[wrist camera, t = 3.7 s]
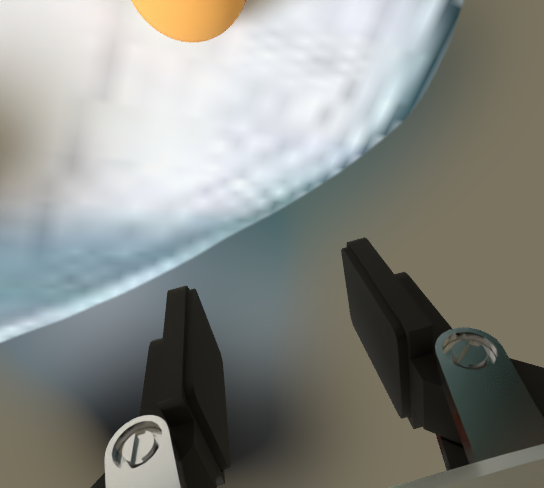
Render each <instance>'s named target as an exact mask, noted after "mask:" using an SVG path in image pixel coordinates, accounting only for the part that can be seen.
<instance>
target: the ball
mask: <svg viewBox="0 0 544 488" xmlns="http://www.w3.org/2000/svg"><path fill="white" fill-rule="evenodd" d="M131 1H132V3H133V5H134V6H135V8H136V9H137V11H138V12H139V13H140V15H141V16H142V17H143V18H144V19H145V20H146V21H147V22H148V23H149V24H150V25H151V26H152V27H153V28H155V29H156V30H157V31H159V32H160V33H162V34H164V35H166V36H167V37H170V38H172V39H175V40H179V41H183V42H202V41H206V40H209V39H212V38H214V37H216V36H218V35H220V34H222V33H223V32H224V31H226V30H227V29H228V28H229V27H230V26H231V25H232V24H233V23H234V21H235V20H236V19H237V17H238V16H239V14H240V13H241V11H242V8H243V6H244V4H245V1H246V0H131Z"/></svg>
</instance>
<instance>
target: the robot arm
mask: <svg viewBox="0 0 544 488" xmlns="http://www.w3.org/2000/svg"><path fill="white" fill-rule="evenodd" d="M341 252H342V259H343V266H344V274H345V280H346V287H347V294H348V301H349V308H350V315H351V320H352V323H353V326H354V328H355V330H356V332H357V334H358V336H359V338H360V340H361V342H362V344H363V345H364V348H365V350H366V351H367V353H368V356H369V358H370V359H371V361H372V363H373V365H374V367H375V369H376V371H377V373H378V375H379V377H380V379H381V381H382V383H383V385H384V387H385V389H386V391H387V393H388V395H389V397H390V399H391V401H392V403H393V405H394V407H395V409H396V411H397V413H398V414H399V416H400V418H405V417H407V418H408V419H409V421H410V423H411V425H412V427H413V429H416V428H419V427H423V428H424V429H425V430H428V431H430V432H432V433H435V434H436V438H437V441H438V444H439V448H440V451H441V454H442V457H443V461H444V464H445V467H446V471H445V472H441V473H438V474H434V475H431V476H427V477H424V478H420V479H417V480H414V481H410V482H406V483H403V484H400V485H396V486H393V487H389V488H544V368H542V367H539V366H535V365H532V364H528V363H525V362H521V361H517V360H514V359H511V358H509V357H508V355H507V353H506V352H505V350H504V348H503V346H502V345H501V344H500V343H499V341H498V340H497V339H496V338H494V337H493V336H491V335H490V334H488V333H486V332H483V331H481V330H477V329H473V328H455V329H452V328H451V327H450V325H449V324H448V323H447V322H446V320H445V319H444V318H443V317H442V316H441V315H440V313H439V312H438V311H437V309H436V308H435V307H434V306H433V305H432V303H431V302H430V301H429V300H428V299H427V297H426V296H425V295H424V294H423V292H422V291H421V290H420V289H419V287H418V286H417V285H416V284H415V283H414V281H413V280H412V279H411V278H410V276H409V275H408V274H407V273H405V272H402V273H398V274H393V272H392V271H391V270H390V268H389V267H388V266H387V264H386V263H385V262H384V260H383V259H382V258H381V257H380V255H379V254H378V253H377V251H376V250H375V249H374V247H373V246H372V245H371V243H370V242H369V241H368V240H367V239H366V238H361V239H357V240H354V241H350V242H347V247H346V248H343V249H342V250H341ZM230 466H231V461H230V449H229V436H228V423H227V410H226V397H225V385H224V372H223V362H222V357H221V353H220V350H219V348H218V345H217V343H216V341H215V338H214V335H213V332H212V330H211V327H210V324H209V322H208V319H207V317H206V314H205V312H204V309H203V306H202V304H201V301H200V299H199V296H198V293H197V291H196V289H191V290H189V288H188V286H183V287H180V288H176V289H172V290H169V291H168V293H167V302H166V312H165V322H164V332H163V338H161V339H157V340H154V341H152V342H151V343H150V346H149V351H148V359H147V366H146V373H145V380H144V387H143V394H142V402H141V410H140V416H139V417H138V418H135V419H133V420H131V421H130V422H128V423H126V424H125V425H124V426H123V427H121V428H120V429H119V430H118V431H117V432H116V433H115V435H114V436H113V438H112V439H111V440H110V442H109V444H108V447H107V449H106V454H105V473H104V474H103V475H102V476H101V478H100V479H98V480H97V482H96V483H95V484H94V485H93V486H92V487H91V488H217V486H219V485H222V484H225V477H224V470H225V469H228V468H230Z"/></svg>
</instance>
